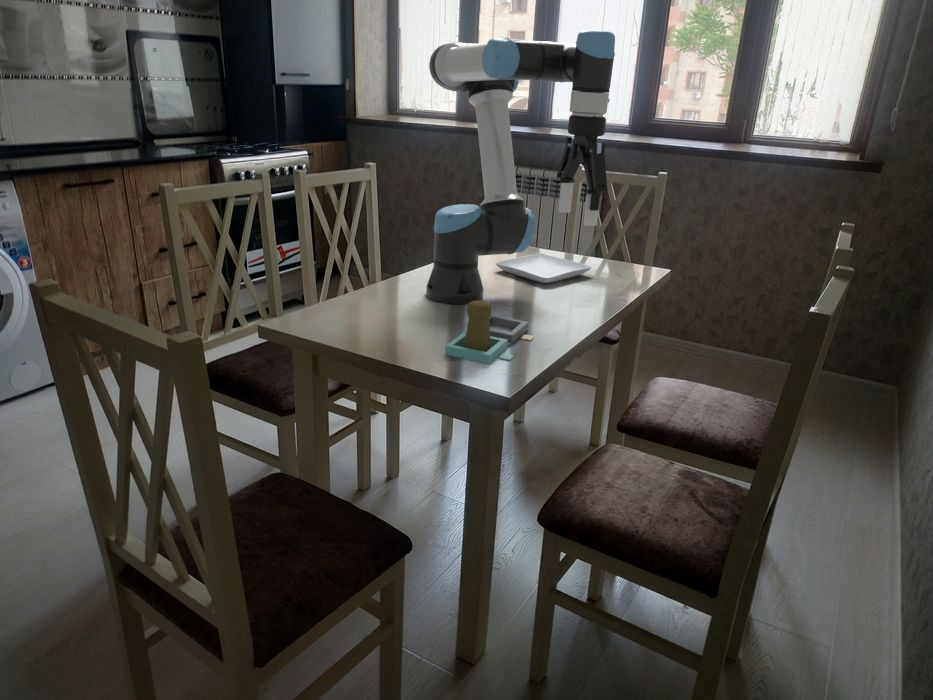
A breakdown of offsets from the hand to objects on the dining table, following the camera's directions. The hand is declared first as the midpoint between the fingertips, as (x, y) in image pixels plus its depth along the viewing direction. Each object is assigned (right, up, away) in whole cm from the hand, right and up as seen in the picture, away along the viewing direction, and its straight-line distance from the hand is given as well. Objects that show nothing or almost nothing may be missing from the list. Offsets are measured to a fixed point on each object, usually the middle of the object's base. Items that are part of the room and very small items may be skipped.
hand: (576, 218), depth 143 cm
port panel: (-18, -27, +3) cm, 32 cm away
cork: (-22, -29, -2) cm, 36 cm away
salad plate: (-1, -6, +57) cm, 57 cm away
